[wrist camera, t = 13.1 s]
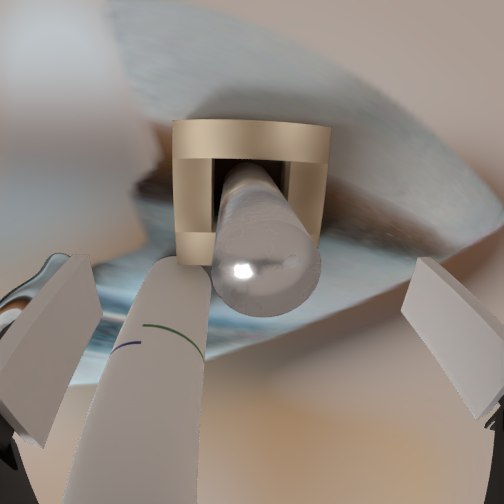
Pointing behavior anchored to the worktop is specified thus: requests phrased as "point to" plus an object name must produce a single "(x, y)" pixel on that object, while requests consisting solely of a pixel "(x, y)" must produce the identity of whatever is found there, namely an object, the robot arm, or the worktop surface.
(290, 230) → the peg
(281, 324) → the worktop surface
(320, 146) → the socket block
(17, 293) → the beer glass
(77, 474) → the cylindrical container
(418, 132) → the worktop surface
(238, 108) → the worktop surface
